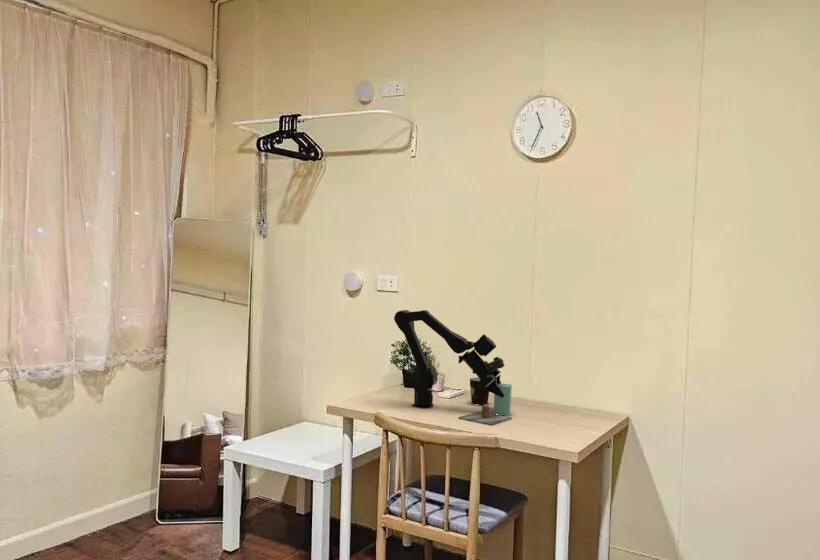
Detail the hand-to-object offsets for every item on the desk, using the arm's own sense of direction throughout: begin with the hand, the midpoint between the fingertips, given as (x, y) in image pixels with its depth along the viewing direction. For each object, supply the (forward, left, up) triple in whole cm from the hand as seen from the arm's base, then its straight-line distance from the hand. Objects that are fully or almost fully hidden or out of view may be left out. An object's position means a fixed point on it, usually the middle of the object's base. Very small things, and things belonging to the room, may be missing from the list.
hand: (504, 395), depth 254 cm
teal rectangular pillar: (-1, 0, -7) cm, 7 cm away
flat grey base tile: (-2, -12, -7) cm, 14 cm away
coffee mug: (-17, +12, -7) cm, 22 cm away
